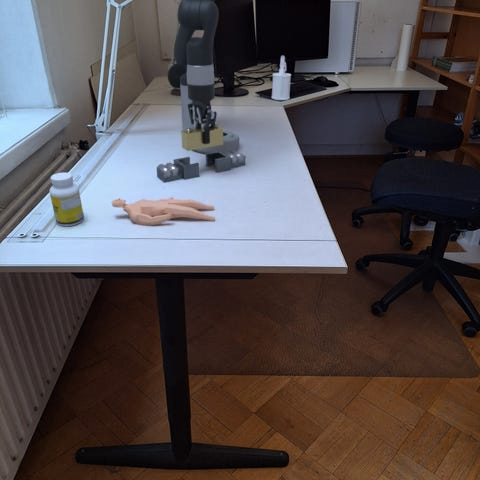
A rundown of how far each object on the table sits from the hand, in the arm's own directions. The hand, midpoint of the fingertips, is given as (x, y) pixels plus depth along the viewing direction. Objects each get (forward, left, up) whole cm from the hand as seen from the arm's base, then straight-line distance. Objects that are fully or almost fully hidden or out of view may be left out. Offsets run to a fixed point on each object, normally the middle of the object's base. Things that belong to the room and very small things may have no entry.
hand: (202, 141), depth 132 cm
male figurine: (+22, -23, -10) cm, 33 cm away
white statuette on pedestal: (-69, +80, -9) cm, 106 cm away
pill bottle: (+13, -43, -9) cm, 46 cm away
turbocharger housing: (-17, +14, -10) cm, 24 cm away
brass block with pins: (0, 0, -1) cm, 1 cm away
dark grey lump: (-103, +42, -9) cm, 112 cm away
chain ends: (0, 0, -9) cm, 9 cm away
